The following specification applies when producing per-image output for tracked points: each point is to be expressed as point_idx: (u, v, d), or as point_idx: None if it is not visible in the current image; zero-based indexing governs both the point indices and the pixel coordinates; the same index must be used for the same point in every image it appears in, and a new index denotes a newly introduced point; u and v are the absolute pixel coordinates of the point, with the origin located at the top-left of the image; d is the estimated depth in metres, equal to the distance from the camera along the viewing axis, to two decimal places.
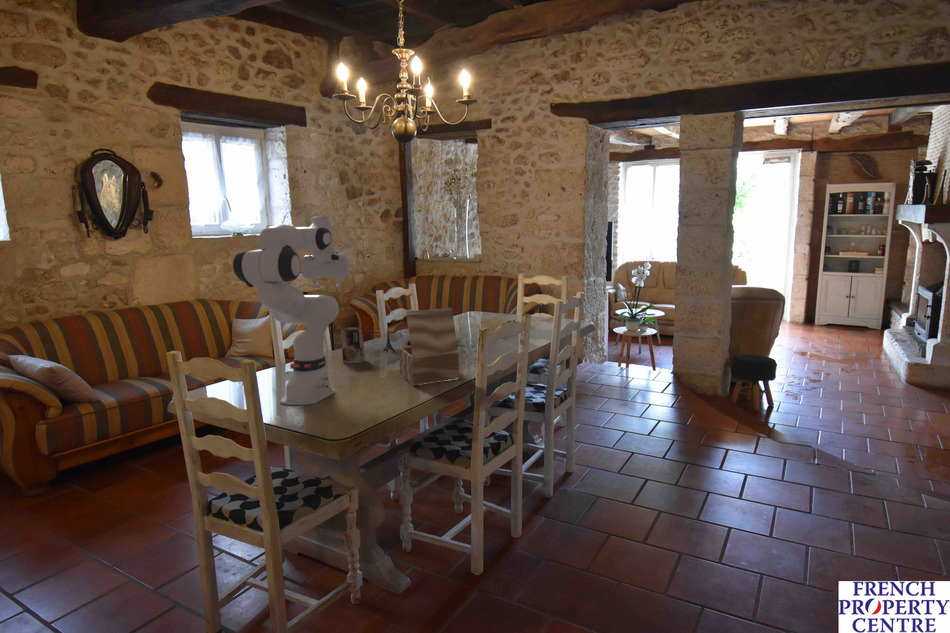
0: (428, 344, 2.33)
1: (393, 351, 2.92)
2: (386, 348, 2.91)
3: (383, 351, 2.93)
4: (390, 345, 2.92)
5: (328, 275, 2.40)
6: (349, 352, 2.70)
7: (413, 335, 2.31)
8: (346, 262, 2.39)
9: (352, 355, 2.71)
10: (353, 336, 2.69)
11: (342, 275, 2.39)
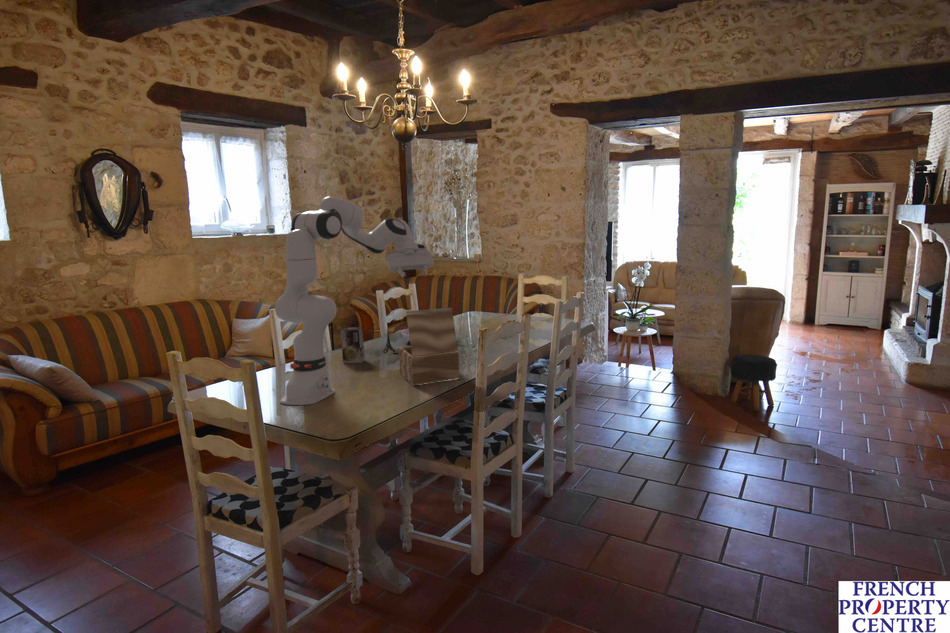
0: (428, 344, 2.33)
1: (393, 351, 2.91)
2: (386, 348, 2.91)
3: (383, 351, 2.93)
4: (390, 345, 2.91)
5: (415, 262, 2.52)
6: (349, 352, 2.70)
7: (413, 335, 2.31)
8: None
9: (352, 355, 2.71)
10: (353, 336, 2.69)
11: (428, 261, 2.54)
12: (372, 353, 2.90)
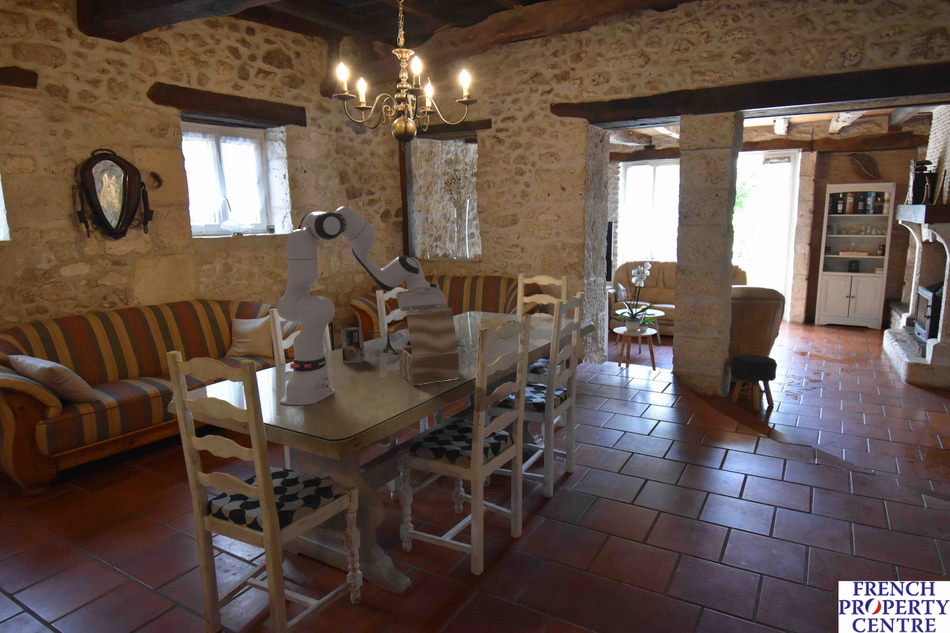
0: (428, 344, 2.33)
1: (393, 351, 2.91)
2: (386, 348, 2.91)
3: (383, 351, 2.93)
4: (390, 345, 2.91)
5: (427, 302, 2.43)
6: (349, 352, 2.70)
7: (413, 335, 2.31)
8: None
9: (352, 355, 2.71)
10: (353, 336, 2.69)
11: (441, 301, 2.45)
12: (372, 353, 2.89)
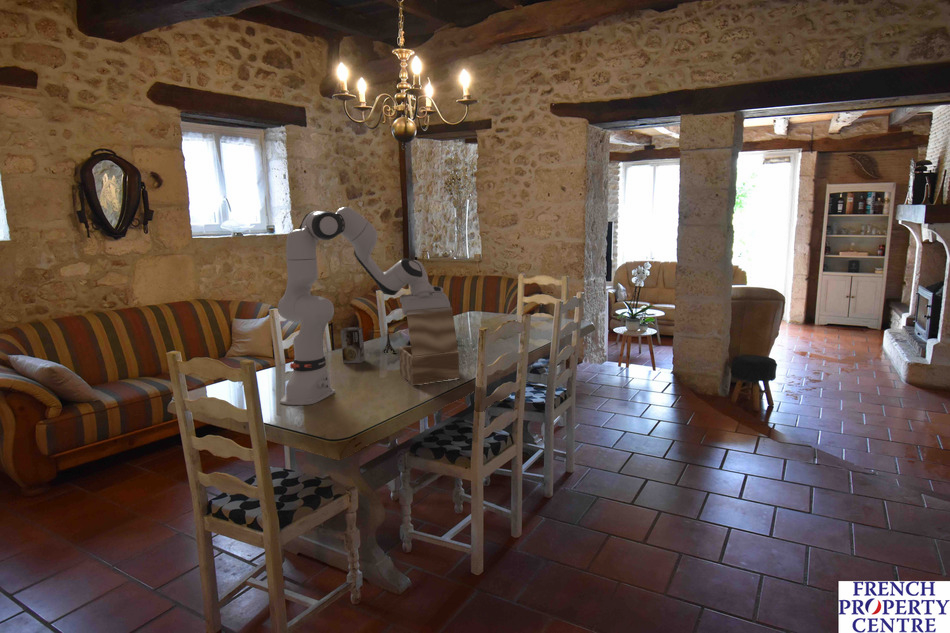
0: (428, 344, 2.33)
1: (393, 351, 2.91)
2: (386, 348, 2.90)
3: (383, 351, 2.92)
4: (390, 345, 2.91)
5: (431, 306, 2.38)
6: (349, 352, 2.70)
7: (413, 335, 2.31)
8: None
9: (352, 355, 2.71)
10: (353, 336, 2.69)
11: (445, 305, 2.41)
12: (372, 353, 2.89)
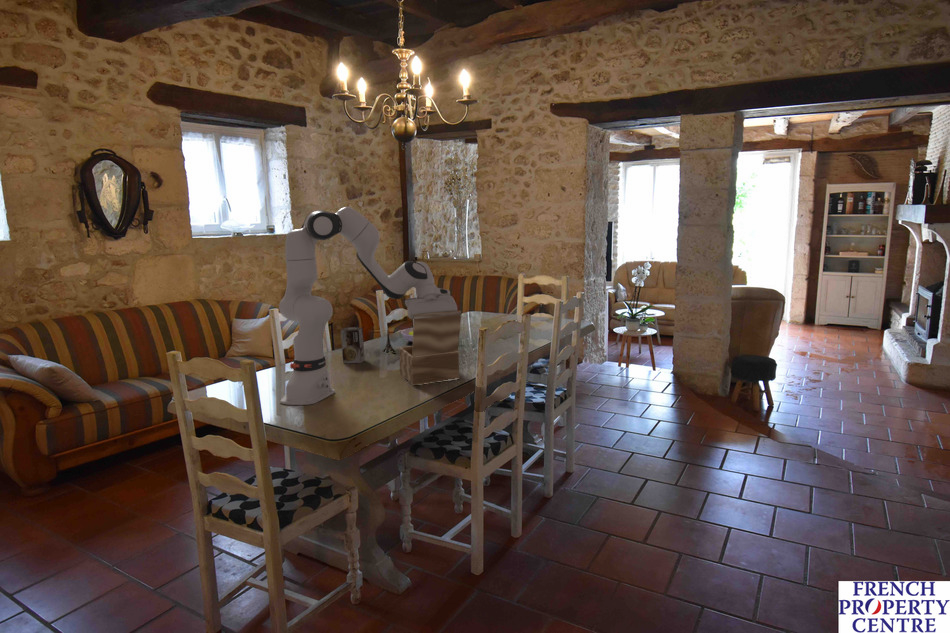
0: (430, 346, 2.31)
1: (393, 351, 2.91)
2: (386, 348, 2.90)
3: (383, 351, 2.92)
4: (390, 345, 2.91)
5: (438, 309, 2.31)
6: (349, 352, 2.70)
7: (417, 338, 2.27)
8: None
9: (352, 355, 2.71)
10: (353, 336, 2.69)
11: (452, 308, 2.33)
12: (372, 353, 2.89)
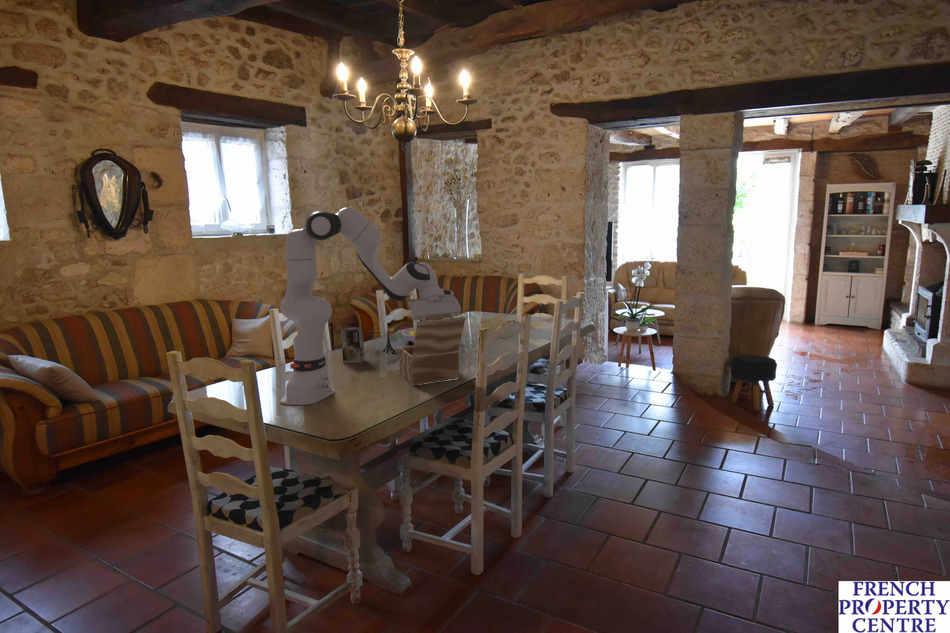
0: (431, 347, 2.30)
1: (393, 351, 2.91)
2: (386, 348, 2.90)
3: (383, 351, 2.92)
4: (390, 345, 2.91)
5: (441, 311, 2.27)
6: (349, 352, 2.70)
7: (418, 341, 2.25)
8: None
9: (352, 355, 2.71)
10: (353, 336, 2.69)
11: (456, 309, 2.29)
12: (372, 353, 2.89)
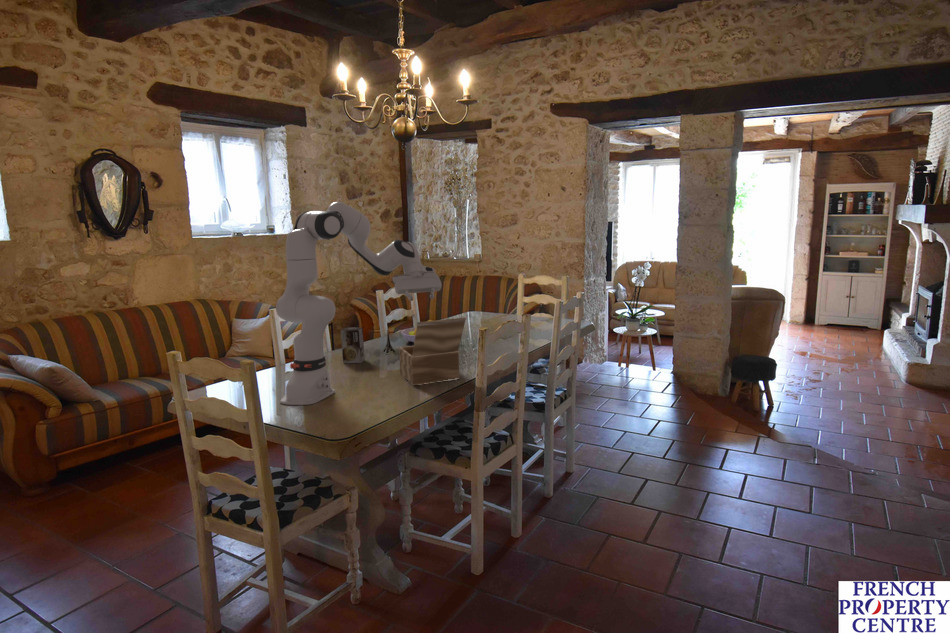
0: (431, 347, 2.30)
1: (393, 351, 2.91)
2: (386, 349, 2.90)
3: None
4: (390, 345, 2.91)
5: (423, 285, 2.47)
6: (349, 352, 2.70)
7: (418, 341, 2.25)
8: None
9: (352, 355, 2.71)
10: (353, 336, 2.69)
11: (436, 284, 2.49)
12: None
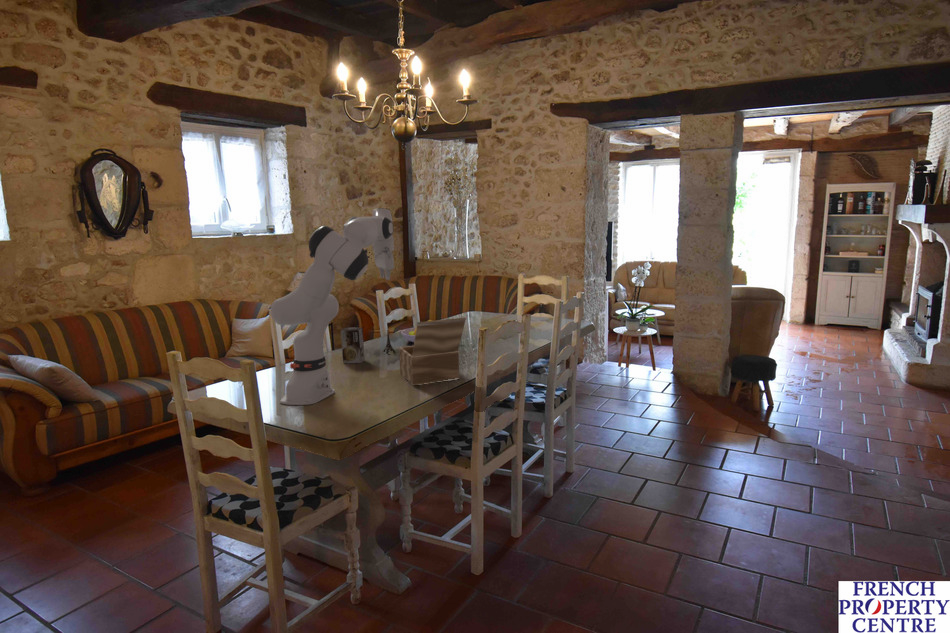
0: (431, 347, 2.30)
1: None
2: (386, 349, 2.90)
3: None
4: (390, 346, 2.90)
5: None
6: (349, 352, 2.70)
7: (418, 341, 2.25)
8: None
9: (352, 355, 2.71)
10: (353, 336, 2.69)
11: None
12: None
